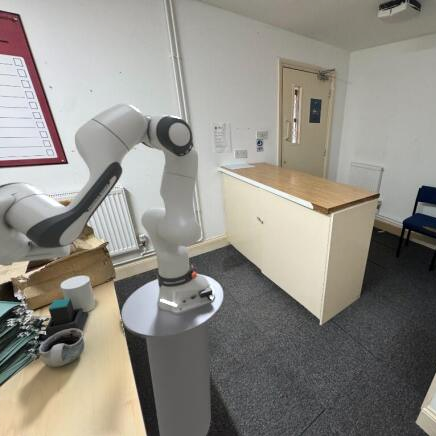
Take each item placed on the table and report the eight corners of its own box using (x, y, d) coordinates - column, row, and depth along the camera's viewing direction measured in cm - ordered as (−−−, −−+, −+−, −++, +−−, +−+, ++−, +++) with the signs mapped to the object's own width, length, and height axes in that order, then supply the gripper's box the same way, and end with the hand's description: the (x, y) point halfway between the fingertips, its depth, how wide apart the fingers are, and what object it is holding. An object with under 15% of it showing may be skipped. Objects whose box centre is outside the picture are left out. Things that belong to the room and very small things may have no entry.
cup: (100, 302, 94) (95, 277, 90) (80, 317, 87) (73, 290, 83) (83, 299, 95) (77, 274, 91) (61, 312, 88) (54, 286, 84)
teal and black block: (76, 317, 84) (70, 297, 81) (72, 326, 81) (66, 305, 78) (59, 321, 82) (53, 300, 79) (55, 330, 79) (48, 309, 76)
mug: (85, 339, 78) (79, 316, 75) (91, 366, 70) (84, 341, 67) (44, 356, 72) (36, 331, 68) (45, 387, 64) (35, 361, 60)
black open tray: (88, 314, 88) (86, 306, 87) (82, 332, 81) (79, 323, 80) (52, 321, 84) (50, 313, 82) (42, 341, 76) (39, 332, 75)
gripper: (61, 229, 63) (78, 245, 75) (-58, 237, 54) (-17, 255, 65) (59, 251, 61) (77, 264, 72) (-66, 264, 51) (-22, 277, 63)
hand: (32, 260), depth 69 cm, fingers open, 8 cm apart
